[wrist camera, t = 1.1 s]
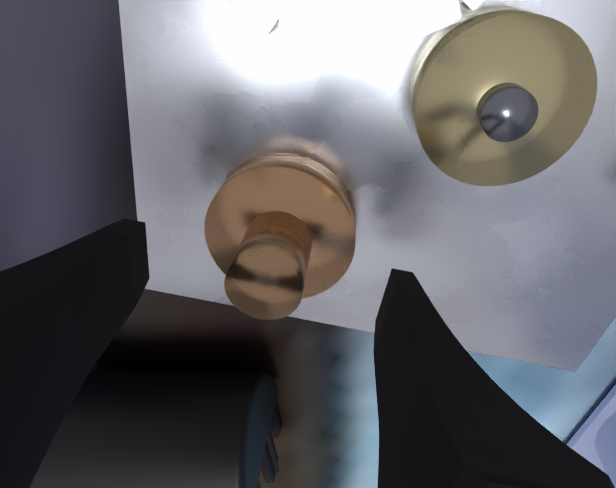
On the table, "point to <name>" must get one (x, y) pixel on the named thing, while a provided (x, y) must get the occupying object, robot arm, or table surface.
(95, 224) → the table surface
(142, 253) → the robot arm
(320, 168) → the gear
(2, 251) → the table surface
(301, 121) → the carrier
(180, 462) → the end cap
